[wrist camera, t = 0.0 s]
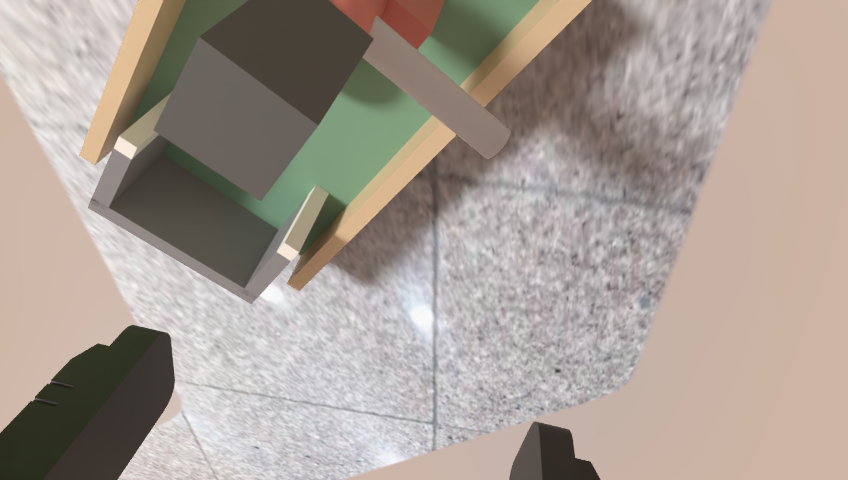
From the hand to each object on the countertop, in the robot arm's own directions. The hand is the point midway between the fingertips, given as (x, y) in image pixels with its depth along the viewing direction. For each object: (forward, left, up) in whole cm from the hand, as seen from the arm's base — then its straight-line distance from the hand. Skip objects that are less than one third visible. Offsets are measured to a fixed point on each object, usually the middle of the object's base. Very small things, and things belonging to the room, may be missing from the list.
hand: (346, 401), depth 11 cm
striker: (0, -5, -21) cm, 22 cm away
